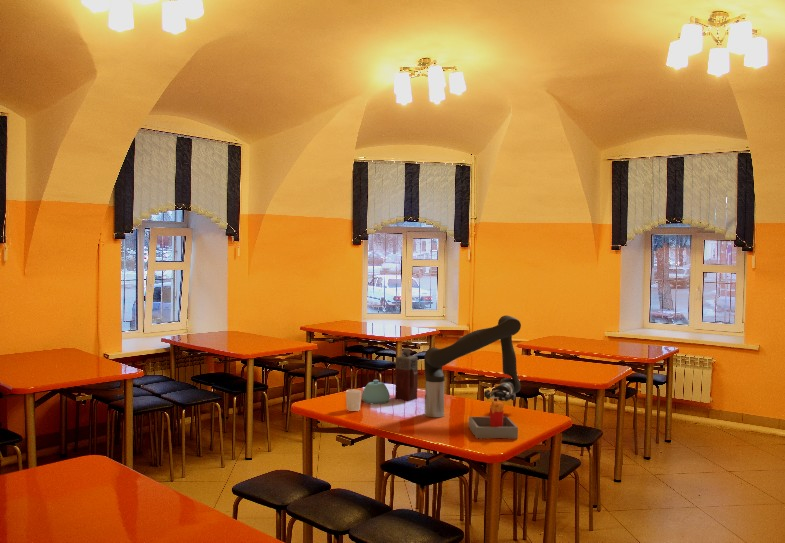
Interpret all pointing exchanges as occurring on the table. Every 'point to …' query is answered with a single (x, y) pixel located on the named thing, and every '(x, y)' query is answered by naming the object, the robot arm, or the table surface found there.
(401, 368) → the brown coffee grinder
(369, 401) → the sugar bowl
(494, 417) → the french fries
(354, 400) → the white cup
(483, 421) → the bin
